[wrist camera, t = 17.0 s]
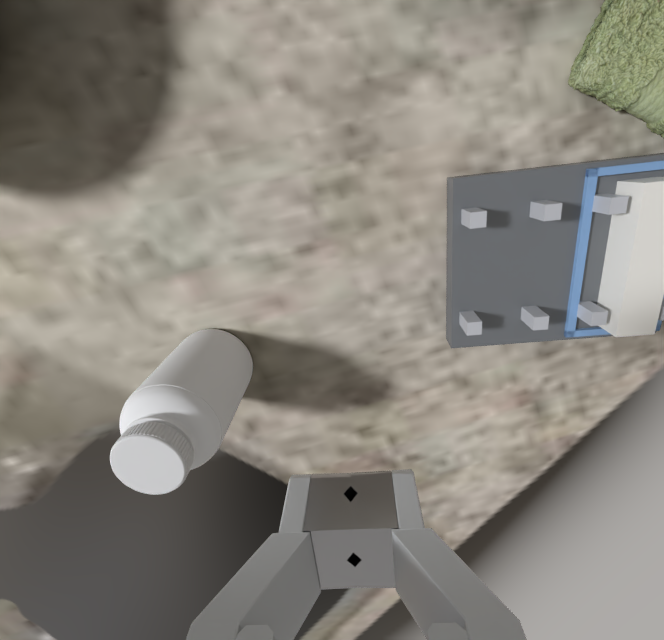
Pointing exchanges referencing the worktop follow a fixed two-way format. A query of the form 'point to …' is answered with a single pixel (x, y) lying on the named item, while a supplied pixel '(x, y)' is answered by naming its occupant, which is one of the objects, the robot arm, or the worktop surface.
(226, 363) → the pill bottle
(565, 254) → the board
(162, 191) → the worktop surface
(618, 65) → the washcloth
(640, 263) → the bar
